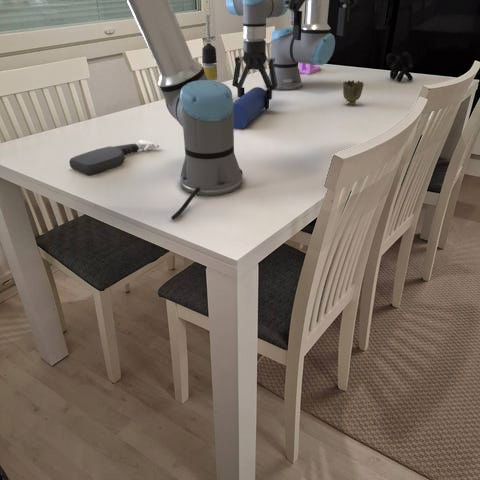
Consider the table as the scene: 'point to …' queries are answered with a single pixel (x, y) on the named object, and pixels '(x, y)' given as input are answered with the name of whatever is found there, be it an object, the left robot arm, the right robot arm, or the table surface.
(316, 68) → the bracket
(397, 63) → the squiggle
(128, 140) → the table surface
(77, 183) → the table surface
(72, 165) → the spray bottle
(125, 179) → the table surface
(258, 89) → the rod
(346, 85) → the cup
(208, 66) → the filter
